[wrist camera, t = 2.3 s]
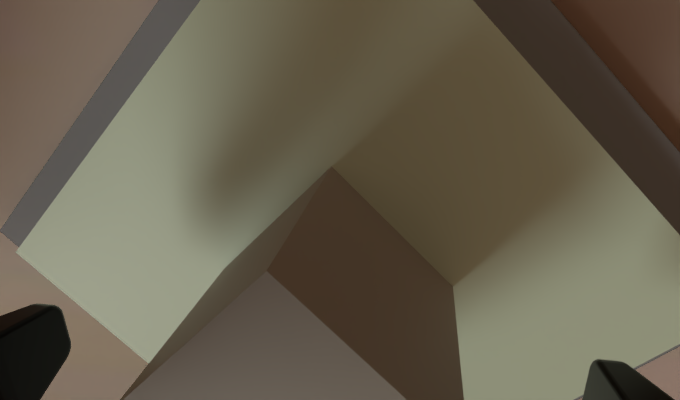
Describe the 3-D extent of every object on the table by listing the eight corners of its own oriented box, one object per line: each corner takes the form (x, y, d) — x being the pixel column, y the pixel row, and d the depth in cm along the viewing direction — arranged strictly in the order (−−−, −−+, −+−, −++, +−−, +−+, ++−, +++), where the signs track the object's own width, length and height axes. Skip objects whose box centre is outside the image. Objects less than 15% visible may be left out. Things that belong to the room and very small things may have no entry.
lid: (46, 234, 12) (-185, 368, 8) (335, -148, 8) (214, -368, 3) (345, 488, 14) (304, 727, 9) (714, 281, 10) (977, 525, 5)
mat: (11, 224, 13) (-1, 230, 12) (338, -243, 8) (334, -255, 7) (347, 508, 15) (345, 521, 14) (779, 276, 10) (793, 286, 9)
